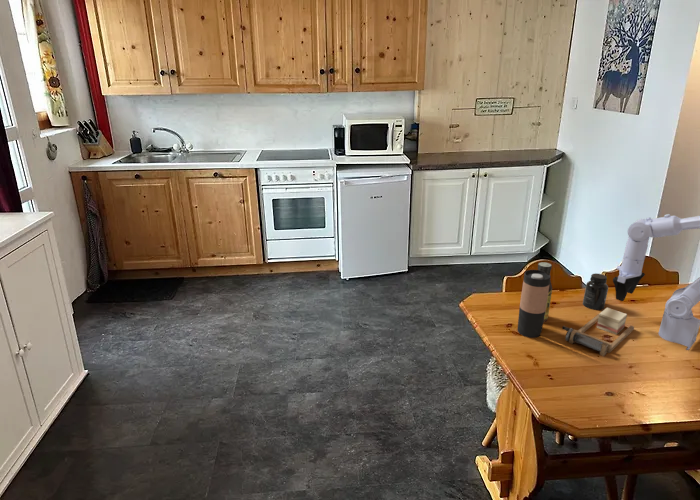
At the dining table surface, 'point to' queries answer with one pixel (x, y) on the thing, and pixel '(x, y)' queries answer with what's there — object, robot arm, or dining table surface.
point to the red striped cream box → (611, 321)
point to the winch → (585, 341)
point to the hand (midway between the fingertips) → (624, 296)
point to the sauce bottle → (547, 268)
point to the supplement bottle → (596, 292)
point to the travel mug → (533, 303)
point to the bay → (610, 345)
